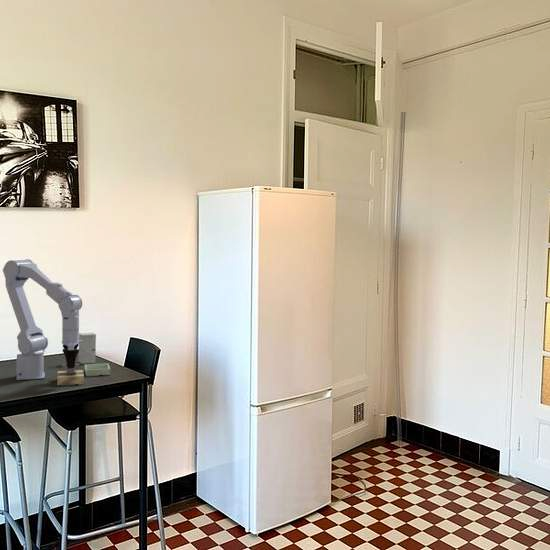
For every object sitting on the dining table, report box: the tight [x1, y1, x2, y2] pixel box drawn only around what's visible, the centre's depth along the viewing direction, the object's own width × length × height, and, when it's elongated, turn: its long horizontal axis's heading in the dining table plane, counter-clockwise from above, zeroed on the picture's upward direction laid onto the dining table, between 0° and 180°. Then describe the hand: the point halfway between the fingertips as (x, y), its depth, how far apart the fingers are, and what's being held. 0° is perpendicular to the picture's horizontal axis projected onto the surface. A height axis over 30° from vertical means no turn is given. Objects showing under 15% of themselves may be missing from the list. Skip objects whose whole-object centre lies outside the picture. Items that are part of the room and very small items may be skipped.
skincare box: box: [78, 332, 97, 365], centre depth 244 cm, size 6×4×12 cm
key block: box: [56, 369, 85, 387], centre depth 214 cm, size 9×9×3 cm
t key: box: [61, 362, 80, 375], centre depth 214 cm, size 6×3×6 cm, turn 110°
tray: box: [84, 363, 111, 377], centre depth 228 cm, size 9×9×2 cm
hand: (70, 365), depth 214 cm, fingers open, 7 cm apart
